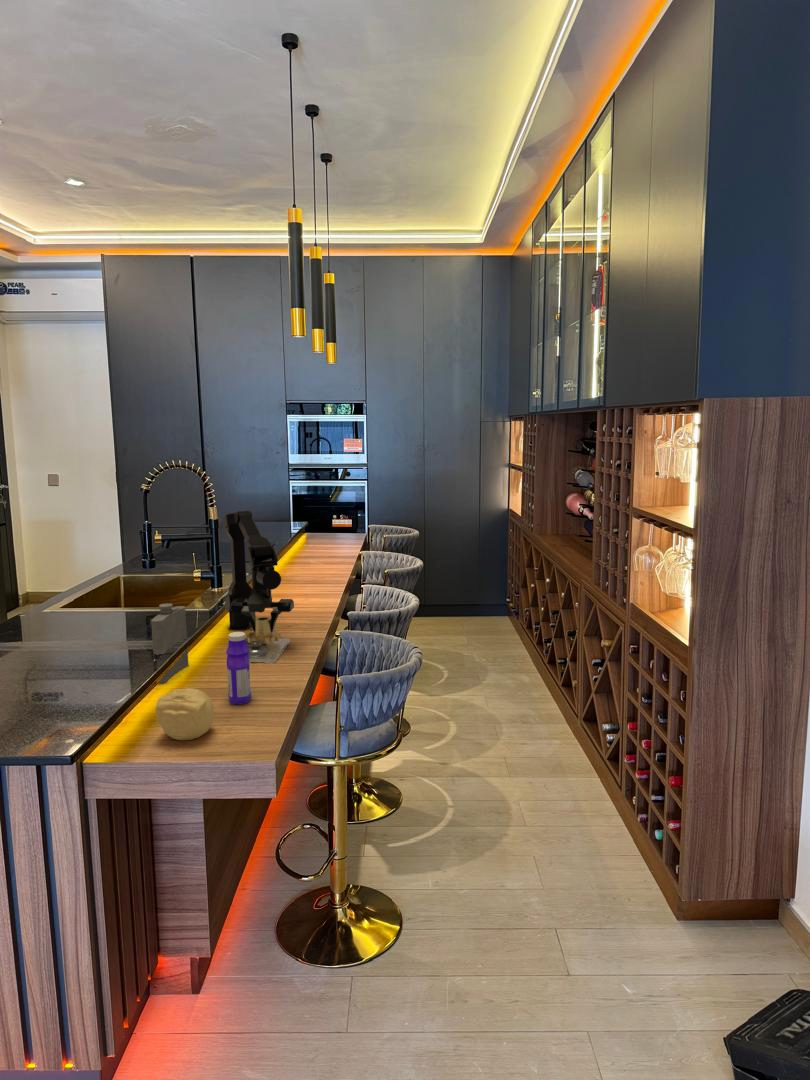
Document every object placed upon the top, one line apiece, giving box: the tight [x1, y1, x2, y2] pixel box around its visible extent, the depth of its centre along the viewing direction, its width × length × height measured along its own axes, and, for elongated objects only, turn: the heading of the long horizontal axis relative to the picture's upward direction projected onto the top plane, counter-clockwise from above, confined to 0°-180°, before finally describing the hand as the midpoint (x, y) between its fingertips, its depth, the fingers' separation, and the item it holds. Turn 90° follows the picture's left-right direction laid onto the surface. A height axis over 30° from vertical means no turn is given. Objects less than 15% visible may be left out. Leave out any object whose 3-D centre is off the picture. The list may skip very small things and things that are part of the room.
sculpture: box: [154, 687, 215, 741], centre depth 158 cm, size 12×12×11 cm
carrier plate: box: [245, 637, 291, 664], centre depth 215 cm, size 14×20×5 cm
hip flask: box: [150, 603, 190, 685], centre depth 195 cm, size 16×4×20 cm, turn 172°
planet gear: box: [246, 616, 282, 644], centre depth 219 cm, size 10×10×6 cm
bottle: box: [225, 631, 252, 705], centre depth 176 cm, size 7×6×17 cm
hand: (263, 631), depth 219 cm, fingers closed on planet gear, 5 cm apart
